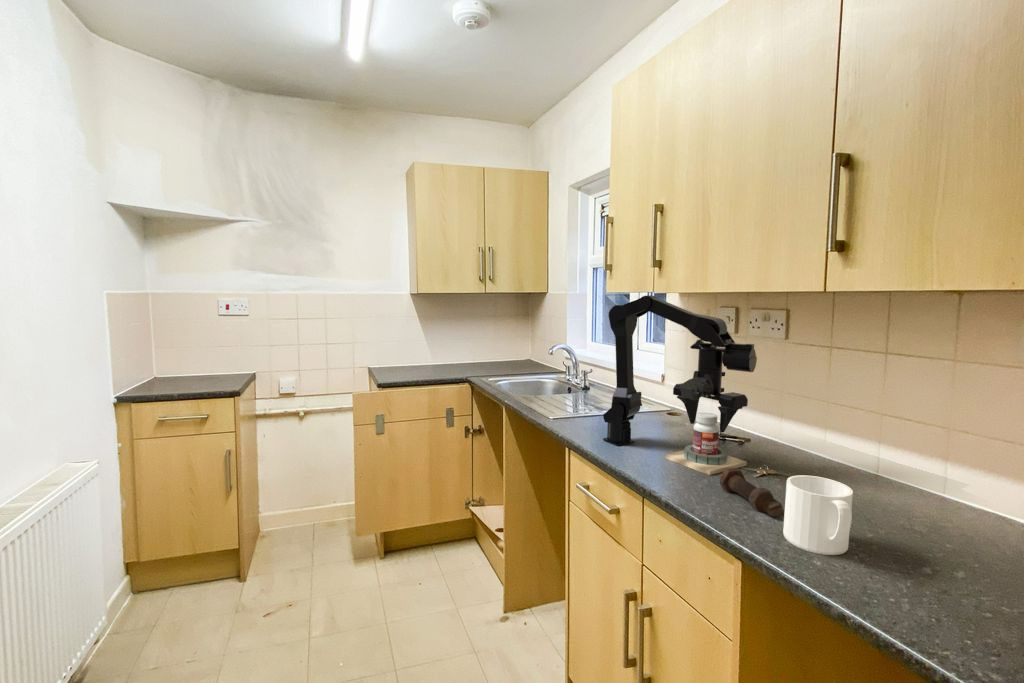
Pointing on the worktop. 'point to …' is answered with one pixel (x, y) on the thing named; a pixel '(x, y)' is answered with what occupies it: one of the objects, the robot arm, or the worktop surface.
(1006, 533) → the worktop surface
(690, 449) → the socket
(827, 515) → the mug
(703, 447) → the pill bottle
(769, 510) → the bolt
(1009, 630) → the worktop surface
